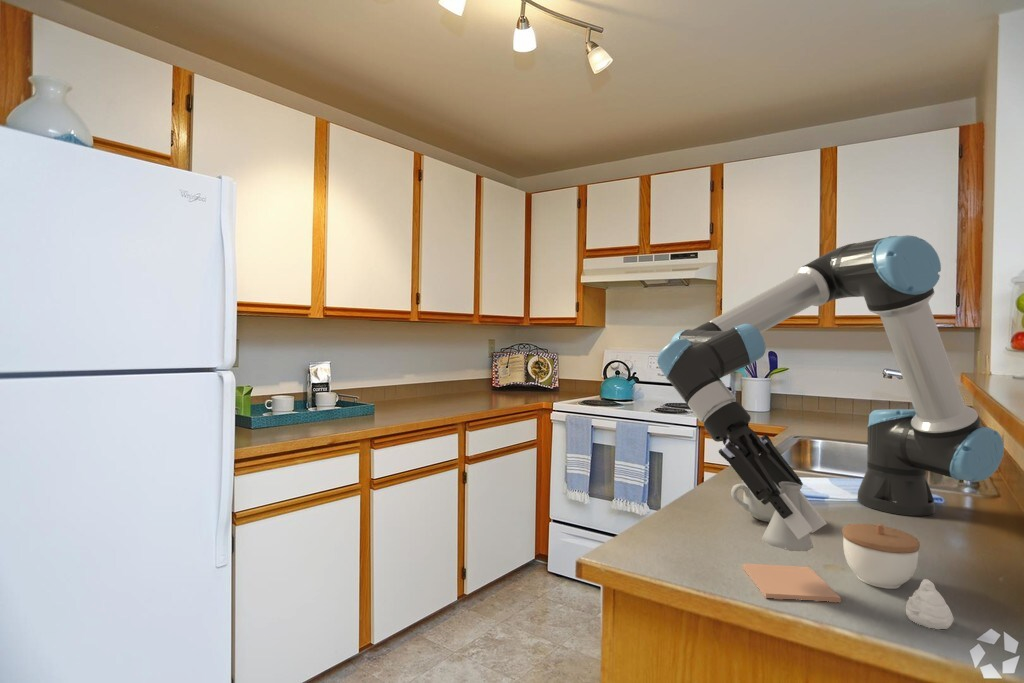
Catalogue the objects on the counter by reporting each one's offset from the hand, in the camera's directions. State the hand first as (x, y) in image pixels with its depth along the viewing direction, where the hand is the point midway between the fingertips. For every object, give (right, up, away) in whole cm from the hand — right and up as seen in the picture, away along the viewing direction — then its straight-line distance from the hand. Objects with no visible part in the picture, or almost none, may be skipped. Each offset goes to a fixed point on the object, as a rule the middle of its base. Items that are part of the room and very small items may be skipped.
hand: (812, 531), depth 89 cm
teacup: (+8, -9, +36) cm, 38 cm away
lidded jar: (+14, -10, +5) cm, 18 cm away
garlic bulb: (+12, -11, -8) cm, 18 cm away
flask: (-3, -3, +3) cm, 5 cm away
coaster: (-2, -10, +3) cm, 10 cm away
